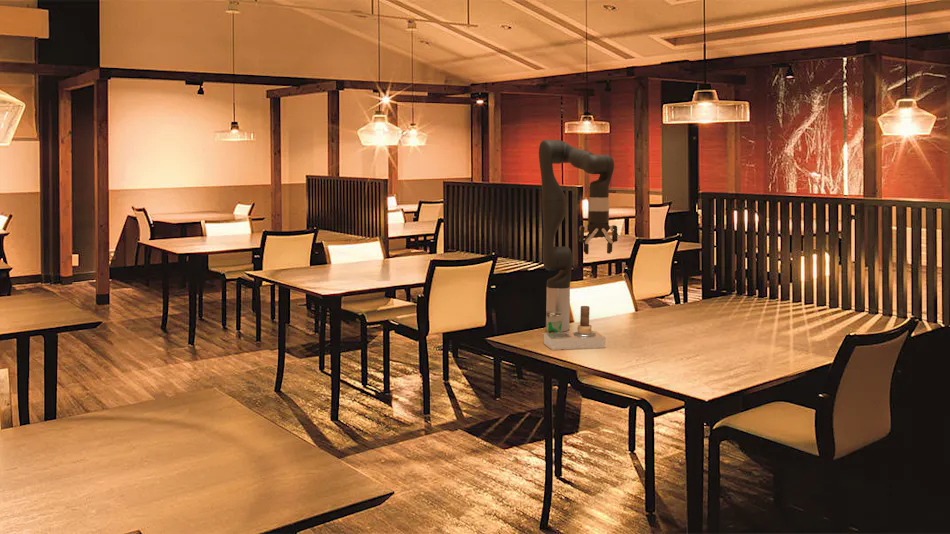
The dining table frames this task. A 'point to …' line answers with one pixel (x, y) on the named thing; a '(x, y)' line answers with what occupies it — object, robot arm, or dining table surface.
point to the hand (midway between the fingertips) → (597, 253)
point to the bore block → (573, 340)
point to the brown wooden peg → (584, 321)
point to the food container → (554, 321)
